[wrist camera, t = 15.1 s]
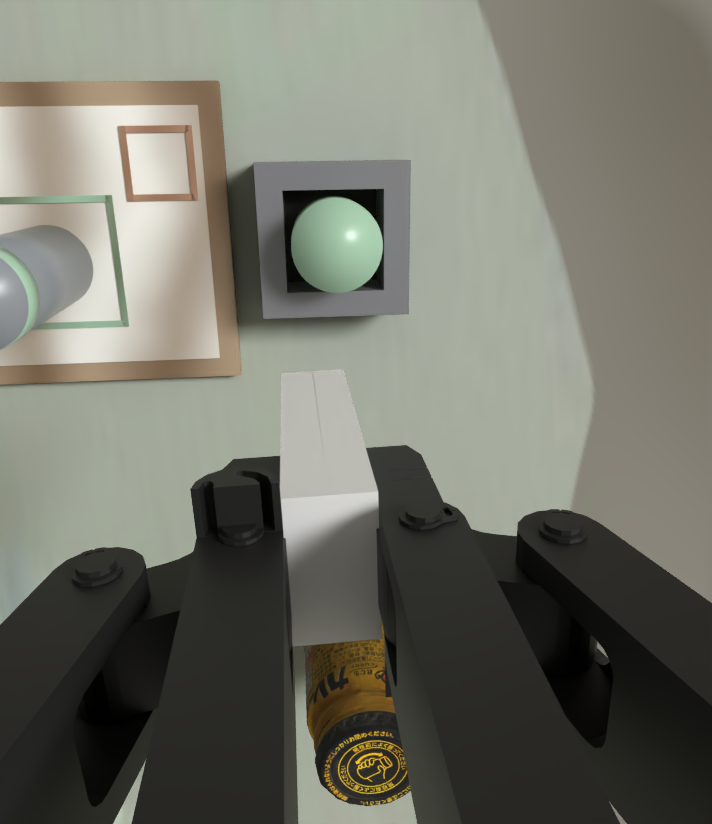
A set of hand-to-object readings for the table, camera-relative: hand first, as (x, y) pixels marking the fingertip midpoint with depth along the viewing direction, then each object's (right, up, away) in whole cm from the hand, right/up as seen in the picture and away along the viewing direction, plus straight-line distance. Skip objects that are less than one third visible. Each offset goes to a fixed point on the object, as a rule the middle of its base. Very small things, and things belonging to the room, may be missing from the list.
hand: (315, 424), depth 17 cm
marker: (-13, +7, +16) cm, 22 cm away
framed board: (-14, +9, +16) cm, 23 cm away
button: (0, +8, +16) cm, 18 cm away
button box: (0, +9, +17) cm, 20 cm away
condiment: (0, -11, +25) cm, 28 cm away
